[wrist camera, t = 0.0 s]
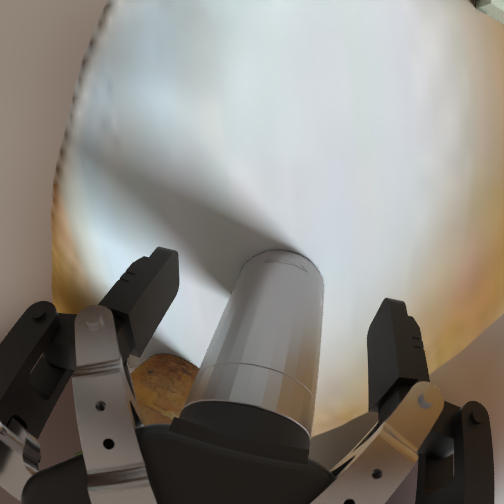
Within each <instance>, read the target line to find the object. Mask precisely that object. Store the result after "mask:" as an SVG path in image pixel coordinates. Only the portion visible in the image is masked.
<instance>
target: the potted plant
mask: <svg viewBox="0 0 504 504" xmlns="http://www.w3.org/2000/svg"><path fill="white" fill-rule="evenodd" d="M198 371H199V369H198V368H197V367H196V366H194V365H192V364H191V363H189V362H187V361H185V360H183V359H181V358H179V357H176V356H173V355H168V354H157V355H153V356H151V357H150V358H149V359H148V360H146V361H145V362H144V363H142V364H141V365H140V366H139V367H137V368H136V369H135V370H134V371H133V372H132V373H131V378H132V382H133V387H134V391H135V395H136V399H137V402H138V406H139V409H140V412H141V414H142V417H143V420H144V424H145V425H150V424H157V423H168V424H171V423H172V420H173V418H174V417H177V418H179V416H180V414H181V411H182V409H183V406H184V404H185V402H186V399H187V397H188V395H189V392H190V390H191V388H192V385H193V383H194V381H195V378H196V375H197V373H198ZM80 454H83V451H81V452H78V453H76V454H75V456H74V457H76V456H78V455H80Z"/></svg>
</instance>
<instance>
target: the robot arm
mask: <svg viewBox="0 0 504 504" xmlns="http://www.w3.org/2000/svg"><path fill="white" fill-rule="evenodd" d="M178 288H179V260H178V252H177V251H175V250H171V249H167V248H162V247H157V248H156V249H155V251H154V252H153V253H152V254H151V255H150V257H145V256H143V257H142V258H140V259H138V260H136V261H135V262H133V263H132V264H131V265H130V267H129V268H128V269H127V270H126V272H125V273H124V274H123V275H122V276H121V277H120V280H118V281H117V282H116V283H115V285H114V286H113V287H112V288H111V289H110V291H109V292H108V293H107V294H106V296H105V297H104V298H103V299H102V301H101V302H100V303H99V304H98V305H92V306H88V307H86V308H84V309H83V310H81V311H80V312H79V313H78V315H77V314H63V313H57V310H56V308H55V306H54V305H53V304H52V303H50V302H47V301H40V302H37V303H34V304H33V305H31V306H30V307H29V308H28V309H27V310H26V311H25V312H24V314H23V315H22V316H21V318H20V319H19V320H18V321H17V323H16V324H15V325H14V327H13V328H12V329H11V331H10V332H9V333H8V335H7V336H6V337H5V338H4V340H3V341H2V342H1V344H0V486H1V487H2V488H3V489H5V490H6V491H7V492H9V493H10V494H11V495H12V496H14V497H15V498H16V499H18V500H19V501H21V504H384V503H385V502H386V501H387V500H388V499H389V497H390V496H391V494H392V493H393V492H394V491H395V490H396V489H397V487H398V486H399V485H400V483H401V482H402V481H403V479H404V478H405V477H406V475H407V474H408V472H409V471H410V470H411V468H412V467H413V465H414V464H415V463H416V461H417V459H418V457H419V459H418V478H417V491H416V501H415V504H494V464H493V463H494V462H493V448H492V437H491V428H490V421H489V415H488V412H487V410H486V409H485V408H484V406H483V405H482V404H480V403H479V402H476V401H470V402H467V403H466V404H465V405H464V406H463V407H462V408H460V407H458V406H456V405H453V404H450V403H448V402H446V401H444V398H443V395H442V393H441V391H440V390H439V389H438V388H437V387H436V386H435V385H434V384H432V383H430V380H429V374H428V368H427V362H426V357H425V351H424V350H423V348H424V346H423V341H421V340H422V337H421V332H420V327H419V326H418V324H417V323H416V321H415V319H414V318H413V317H411V316H408V314H407V310H406V305H405V302H404V301H399V300H395V299H390V298H385V299H384V300H383V302H382V304H381V306H380V308H379V310H378V312H377V313H376V315H375V317H374V319H373V321H372V323H371V325H370V327H369V330H368V335H367V350H368V385H369V412H378V419H379V421H378V422H377V423H376V424H375V426H374V427H373V428H372V429H371V430H370V431H369V432H368V434H367V435H366V436H365V437H364V438H363V439H362V440H361V441H360V442H359V443H358V445H357V446H356V447H355V448H354V449H353V450H352V451H351V452H350V453H349V454H348V455H347V456H346V457H345V458H344V459H343V460H341V461H340V462H339V463H338V464H337V465H336V466H335V467H334V468H332V469H331V470H330V471H329V470H328V469H327V468H326V467H324V466H323V465H321V464H320V463H319V462H317V461H315V460H313V459H311V458H308V455H309V447H310V441H311V434H312V426H313V418H314V410H315V399H316V390H317V380H318V370H319V359H320V347H321V333H322V318H323V302H324V283H323V278H322V276H321V274H320V272H319V271H318V269H317V268H316V267H315V266H314V265H313V264H312V263H311V262H310V261H309V260H307V259H306V258H304V257H302V256H300V255H298V254H295V253H292V252H288V251H280V250H278V251H268V252H264V253H261V254H258V255H256V256H254V257H253V258H252V259H250V260H249V261H248V262H247V263H246V264H245V266H244V267H243V269H242V271H241V273H240V276H239V278H238V280H237V282H236V285H235V287H234V289H233V291H232V293H231V296H230V298H229V300H228V303H227V305H226V307H225V310H224V312H223V314H222V317H221V319H220V321H219V324H218V326H217V329H216V331H215V333H214V336H213V338H212V340H211V343H210V345H209V347H208V350H207V352H206V354H205V357H204V359H203V361H202V364H201V366H200V368H199V371H198V373H197V375H196V378H195V381H194V383H193V385H192V388H191V390H190V392H189V395H188V397H187V399H186V402H185V404H184V406H183V409H182V411H181V414H180V416H179V418H177V417H174V418H173V420H172V423H171V424H168V423H157V424H150V425H145V424H144V420H143V417H142V414H141V412H140V409H139V406H138V402H137V399H136V395H135V391H134V387H133V382H132V378H131V374H130V369H129V365H128V361H127V358H128V357H129V355H130V354H131V355H134V356H136V357H139V358H140V356H141V354H142V353H143V351H144V349H145V347H146V346H147V344H148V342H149V341H150V339H151V337H152V335H153V334H154V332H155V330H156V329H157V327H158V325H159V323H160V322H161V320H162V318H163V317H164V315H165V313H166V312H167V310H168V308H169V307H170V305H171V303H172V302H173V300H174V298H175V297H176V295H177V292H178ZM41 355H42V357H41V358H40V356H41ZM39 358H40V360H39V361H38V359H39ZM37 361H38V363H37V364H36V362H37ZM35 364H36V366H35V368H34V369H33V367H34V365H35ZM32 369H33V371H32V372H31V370H32ZM74 370H77V371H74ZM30 372H31V374H30ZM71 376H72V381H73V391H74V401H75V409H76V416H77V423H78V429H79V435H80V441H81V446H82V451H83V454H80V455H78V456H76V457H73V458H71V459H68V460H66V461H64V462H61V463H59V464H56V465H54V466H51V467H49V468H46V469H44V470H41V471H39V469H38V463H39V462H40V460H41V454H40V446H39V442H38V440H37V439H38V437H39V435H40V433H41V431H42V429H43V427H44V425H45V423H46V422H47V420H48V418H49V416H50V414H51V412H52V410H53V408H54V406H55V404H56V402H57V400H58V399H59V397H60V395H61V393H62V391H63V390H64V388H65V386H66V384H67V383H68V381H69V379H70V377H71ZM416 452H418V453H419V455H418V454H417V453H416ZM453 453H454V477H453Z"/></svg>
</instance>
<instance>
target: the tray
mask: <svg viewBox="0 0 504 504" xmlns="http://www.w3.org/2000/svg"><path fill="white" fill-rule="evenodd" d="M476 9H477V10H479V11H481V12H483V13H485V14H487V15H488V16H490V17H492V18H493V19H495V20H497V21H498V22H500V23H502V24H503V25H504V0H476Z"/></svg>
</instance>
